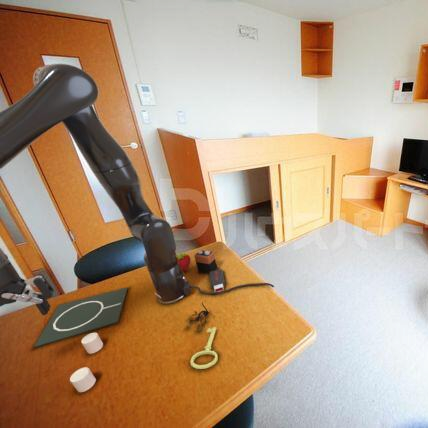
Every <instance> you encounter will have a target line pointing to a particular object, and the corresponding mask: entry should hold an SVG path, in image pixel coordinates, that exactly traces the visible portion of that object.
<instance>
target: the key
mask: <svg viewBox="0 0 428 428" xmlns="http://www.w3.org/2000/svg"><path fill="white" fill-rule="evenodd" d="M216 331H217V327H216V326H214V327H212V328H207V330H206V333H209V334H210V335H209V336H208V340H207V343H206V345H205V346H204V350H200V351H198V352H195V353H194V354H193V355H192V357H191V358H190V361H189V362H190V366H191V368H193V369H196V370H203V369H204V370H206V369H208V368H212V367H213V366H214V365H216V363H218V361H219V359H218V358H219V356H218V353H217V352H216V351H214V350H212V344H213V341H214V337H215V334H216ZM206 355H211V356H214V358H213V360H211V361H210V362H208V363H206V364H197V363H195V360H196V359H197V358H198V357H200V356H206Z"/></svg>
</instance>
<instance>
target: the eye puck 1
mask: <svg viewBox="0 0 428 428" xmlns="http://www.w3.org/2000/svg"><path fill="white" fill-rule="evenodd" d="M80 342H81V345H82V347H84V349H85V351H86V353H87V354H91V355H92V354H95V353H97V352H99V351H100V350H101V349H102V348H103V347H104V343H103V341H102V339H101V338H100V336H99V334H98V333H97V332H91V333H88V334H86V335H85V336H83V337H82V339H81V341H80Z"/></svg>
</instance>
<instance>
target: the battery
mask: <svg viewBox="0 0 428 428" xmlns="http://www.w3.org/2000/svg"><path fill="white" fill-rule="evenodd" d="M194 260H195V264H196V269H197V272H198V273H201V274H207V275H209V272H210V271H214V270H218V265H217V259H216V256H215V252H214V251H210V250H204V249H199V250H198V251H197V252H196V253H195V254H194Z"/></svg>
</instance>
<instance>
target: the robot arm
mask: <svg viewBox="0 0 428 428" xmlns="http://www.w3.org/2000/svg"><path fill="white" fill-rule="evenodd" d="M32 79H33V85H34V87H33V88H32V89H31V90H30V91H29V92H28V93H27V94H25V95H24V96H22V97H21V98H20V99H18V100H17V101H16V102H15V103H13V104H11V105H10V106H8V107H6V108H4V109H2V110H0V170H2V169H3V168H4V167H5V166H6V165H8V164H9V163H10V162H11V161H13V160H14V159H15V158H17V156H19V155H20V154H21V153H22V152H24V150H26V149H27V148H28V147H30V146H31V145H32V144H33V143H34V142H35V141H37V140H38V139H39V138H40V137H42V136H43V135H44V134H46V133H47V132H48V131H49V130H51V129H52V128H54V127H56V126H57V125H59V124H60V123H62V124H63V125H64V127H65V128H66V130H67V131H68V133H69V134H70V136H71V137H72V140H73V141H74V143H75V146H76V147H77V149H78V150H79V152H80V154H81V155H82V157H83V159H84V160H85V162H86V163H87V165H88V167H89V169H90V170H91V172H92V174H93V175H94V177H95V178H96V179H97V181H98V182H99V184H100V186H101V187H102V188H103V190H104V191H105V192H106V194H107V195H108V196H109V198H110V199H111V200H112V202H113V203H114V204H115V206H116V207H117V208H118V210H119V212H120V213H121V216H122V217H123V220H124V222H125V224H126V226H127V228H128V230H129V232H130V234H131V235H132V236H133V237H134V239H136V240H137V241H139V242H141V243H142V245H143V249H144V251H145V253H144V254H143V261H144V263H145V266H146V269H147V271H148V274H149V276H150V279H151V282H152V285H153V287H154V290H155V291H154V296H157V299H158V302H159V303H160V304H162V305H171V304H174V303H177V302H179V301H181V300H183V298H186V297H187V296H188V295H189V294H191V293H192V289H197V290H198V293H200V294H202V295H206V296H207V295H209V296H213V295H220V294H225V293H228V292H231V291H233V290H235V289H239V288H245V287H252V286H253V287H255V286H269V287H271V288H275V286H274V284H271V283H268V282H260V283H259V282H258V283H245V284H239V285H236V286H233V287H231V288H228V289H224V290H223V291H220V292H215V291H214V292H207V291H206V292H205V291H202V290H201V288H200V287H199V286H197V285H191V283H190V280H186V279H185V276H184V273H183V272H184V271H182V269H181V268H180V266H179V262H178V259H177V257H178V256H176V255H177V253H176V250H177V243H176V239H175V235H174V231H173V228H172V226H171V223H170V222H169V221H167V220H165V219H163V218H161V217H159V216H157V215H156V214H155V213H154V212H153V211H152V209H151V208H150V206H149V205H148V203H147V201H146V199H145V198H144V194H143V187H142V180H141V177H140V174H139V173H138V171H137V168H136V166H135V165H134V164H133V163H134V162H133V161H132V159H131V158H130V156H129V155H128V153H127V152H126V151H125V149H124V148H123V147H122V146H121V145H120V143H119V142H118V141H117V140H116V139H115V138H114V136H112V134H110V132H109V131H108V130H107V129H106V127H105V126H104V125H103V123H102V121H101V120H100V119H99V116H98V114H97V112H96V110H95V109H94V106H93V105H94V104H95V103H96V102H97V101H98V99H99V96H100V91H99V87H98V85H97V83H96V81H95V79H94V78H93V77H92V76H91V74H89V73H88V72H86V71H85V70H84V69H82V68H80V67H77V66H75V65H72V64H67V63H51V64H45V65H41V66H40V67H38V68H37V69H35V71H34V73H33V77H32ZM27 286H31V287H32V288H37V289H38V290H39V291H35V290H34V289H32V288H29V287H27ZM54 292H55V289H54V288H53V286H52V285H51V284H50V282H49V281H48V280H47V278H46V277H45V276H44V274H42V273H37V274H36V275H35V276H34V277H30V278H28V279H24V278H22V277H21V275H20V274H19V273H18V271H17V270H16V268H15V266H14V265H13V263H12V262H11V261H10V259H9V257H8V254H6V253H5V252H4V250H3V249H2V248H1V247H0V308H1V307H3V306H4V305H5V306H6V305H9V304H11V305H12V304H14V303H16V302H17V301H19V302H23V303H33V304H35V306H36V308H37V309H38V310H39V312H40V313H41V316H46V315H48V314H49V312H50V310H51V304H50V302H49V301H48V299H51V298H53V294H54Z"/></svg>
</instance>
